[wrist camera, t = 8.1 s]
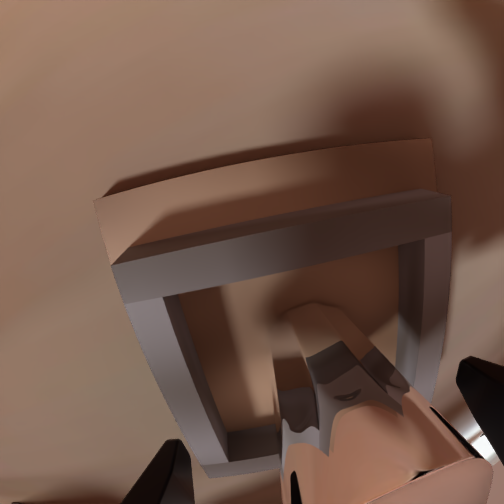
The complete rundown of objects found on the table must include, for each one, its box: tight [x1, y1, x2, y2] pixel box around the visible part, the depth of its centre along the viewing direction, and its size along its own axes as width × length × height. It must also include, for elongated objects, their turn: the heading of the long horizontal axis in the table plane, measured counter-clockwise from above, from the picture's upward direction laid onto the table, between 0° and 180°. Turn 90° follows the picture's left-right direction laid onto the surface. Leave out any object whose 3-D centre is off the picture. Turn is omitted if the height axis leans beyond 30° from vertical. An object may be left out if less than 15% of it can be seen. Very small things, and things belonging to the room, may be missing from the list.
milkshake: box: [267, 302, 493, 504], centre depth 7 cm, size 5×5×10 cm
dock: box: [93, 139, 452, 478], centre depth 11 cm, size 14×12×3 cm
